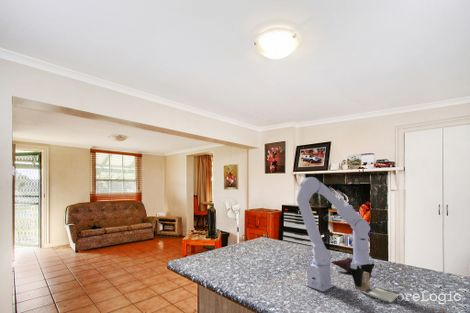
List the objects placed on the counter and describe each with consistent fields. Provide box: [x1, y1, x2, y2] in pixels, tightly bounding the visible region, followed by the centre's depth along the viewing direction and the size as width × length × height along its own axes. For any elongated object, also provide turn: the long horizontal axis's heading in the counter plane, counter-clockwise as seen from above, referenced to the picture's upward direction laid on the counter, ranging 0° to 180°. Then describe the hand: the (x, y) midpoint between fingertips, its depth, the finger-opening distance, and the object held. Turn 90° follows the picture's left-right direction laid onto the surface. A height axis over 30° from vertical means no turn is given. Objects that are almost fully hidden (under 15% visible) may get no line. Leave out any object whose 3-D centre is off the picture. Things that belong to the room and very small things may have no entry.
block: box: [354, 272, 371, 292], centre depth 103 cm, size 4×4×6 cm
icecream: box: [331, 256, 361, 274], centre depth 120 cm, size 7×7×15 cm
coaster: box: [367, 287, 400, 304], centre depth 96 cm, size 8×8×1 cm
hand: (362, 283), depth 103 cm, fingers open, 7 cm apart
